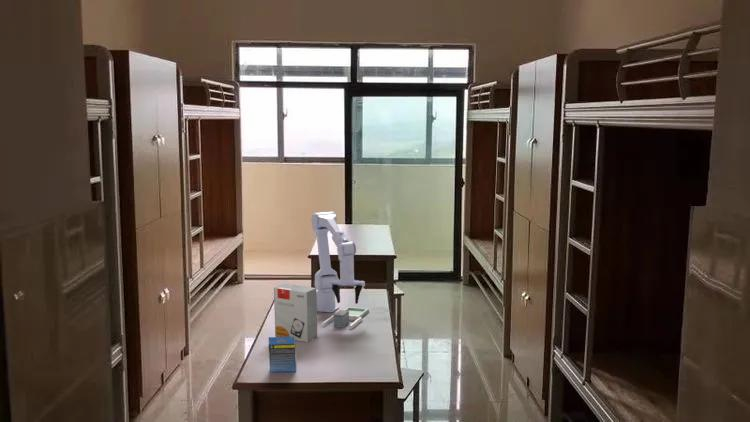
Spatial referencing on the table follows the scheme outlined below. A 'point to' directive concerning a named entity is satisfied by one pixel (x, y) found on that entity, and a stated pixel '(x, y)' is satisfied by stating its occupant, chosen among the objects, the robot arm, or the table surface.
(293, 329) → the hard drive box
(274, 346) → the label tape cartridge
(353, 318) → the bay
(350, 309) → the tray
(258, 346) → the table surface
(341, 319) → the grey rectangular block
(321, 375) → the table surface
